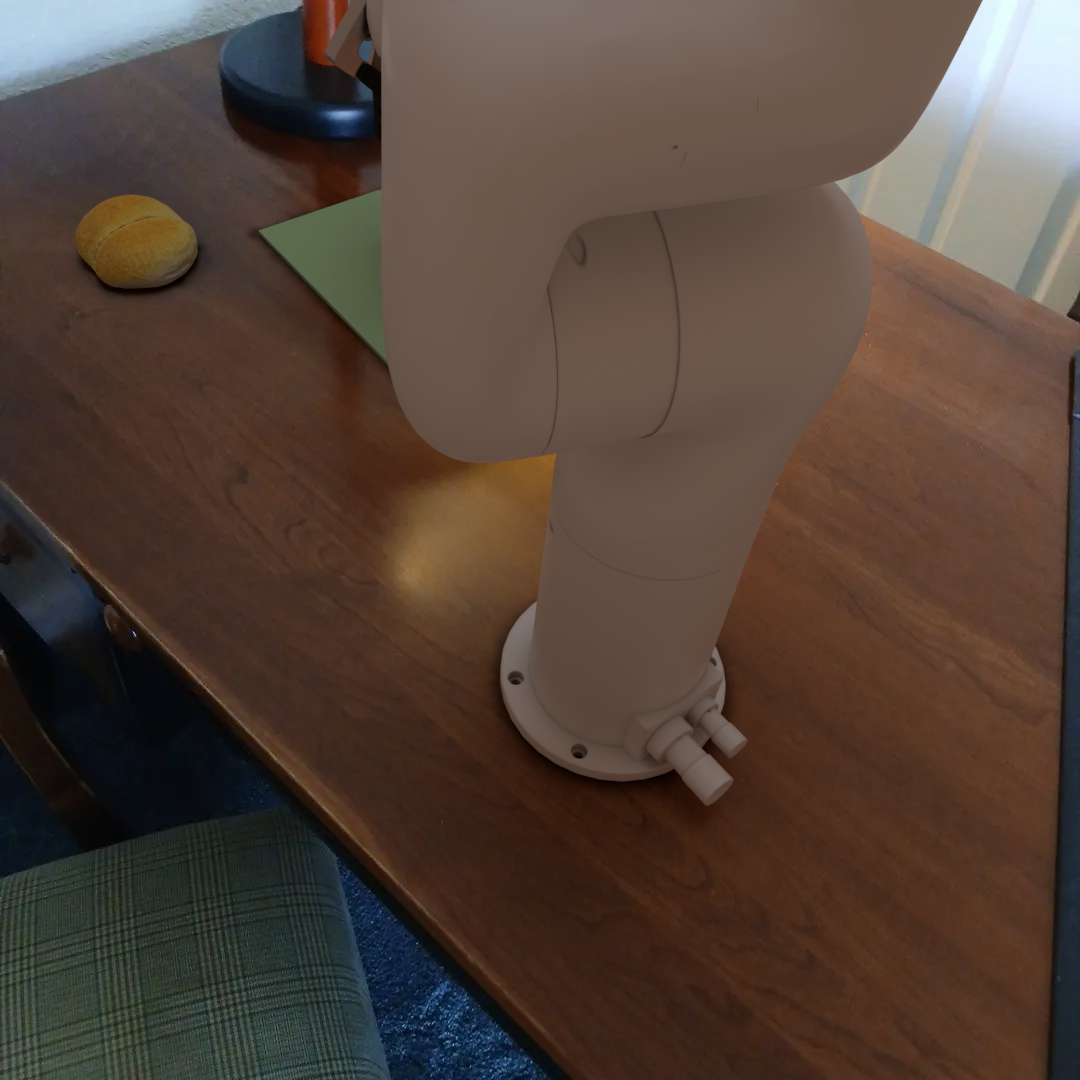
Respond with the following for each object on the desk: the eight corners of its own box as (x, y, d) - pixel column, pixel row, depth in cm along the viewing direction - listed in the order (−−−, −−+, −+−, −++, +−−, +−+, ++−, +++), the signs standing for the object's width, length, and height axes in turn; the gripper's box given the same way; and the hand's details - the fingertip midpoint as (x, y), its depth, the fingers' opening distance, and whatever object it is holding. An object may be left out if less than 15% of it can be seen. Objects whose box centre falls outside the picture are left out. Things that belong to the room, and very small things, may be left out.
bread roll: (121, 308, 76) (107, 262, 73) (66, 247, 80) (51, 201, 77) (222, 269, 80) (214, 223, 77) (165, 213, 84) (155, 167, 81)
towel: (608, 305, 81) (609, 301, 81) (413, 392, 73) (413, 388, 73) (445, 171, 91) (445, 166, 91) (258, 234, 83) (258, 230, 83)
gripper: (332, -111, 54) (353, 199, 68) (586, -159, 62) (557, 129, 76) (261, -159, 58) (294, 145, 72) (509, -199, 65) (495, 83, 79)
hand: (429, 134), depth 73 cm, fingers closed on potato, 5 cm apart
